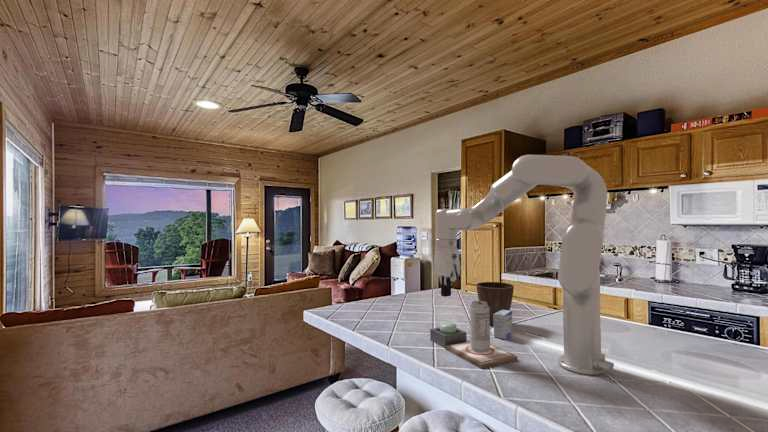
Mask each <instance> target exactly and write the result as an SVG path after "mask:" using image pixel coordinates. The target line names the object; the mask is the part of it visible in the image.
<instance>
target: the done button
mask: <svg viewBox="0 0 768 432" xmlns="http://www.w3.org/2000/svg"><path fill="white" fill-rule="evenodd" d="M439 327H440V332H441V333H443V334H451V333H456V328H457V324H456V323H454V322H441V323H439Z"/></svg>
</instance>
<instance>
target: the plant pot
mask: <svg viewBox="0 0 768 432" xmlns="http://www.w3.org/2000/svg"><path fill="white" fill-rule="evenodd" d="M514 288H515V285H513V284H512V283H508V282H507V283H506V282H500V281H499V282H498V281H484V282H481V281H480V282H477V283H476V293H477V297H478V298H477V299H478V301H485V302H487V305H488V307H489V316H490V327H491V326H492V327H494V322H493V314H495V313H496V312H498V311H500V310H509V311H511V307H512V302H513V298H514Z"/></svg>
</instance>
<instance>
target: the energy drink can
mask: <svg viewBox="0 0 768 432" xmlns="http://www.w3.org/2000/svg"><path fill="white" fill-rule="evenodd" d="M469 322H470V323H469V325H470V326H469V328H470V331H469V333H470V334H469V335H470V340H469V341H471V347H472V349H473V350H474V351H476V352H487V351H488V349H489V348H490V344H491V328H490V327H491V325H490V316H489V307H488V305H487V302H485V301H479V300H474V301H473V300H472V301H471V305H470V306H469Z"/></svg>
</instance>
